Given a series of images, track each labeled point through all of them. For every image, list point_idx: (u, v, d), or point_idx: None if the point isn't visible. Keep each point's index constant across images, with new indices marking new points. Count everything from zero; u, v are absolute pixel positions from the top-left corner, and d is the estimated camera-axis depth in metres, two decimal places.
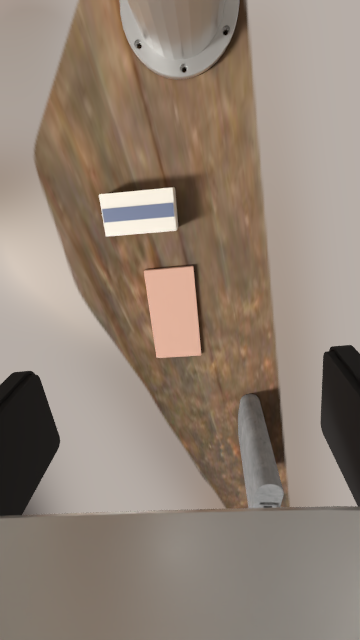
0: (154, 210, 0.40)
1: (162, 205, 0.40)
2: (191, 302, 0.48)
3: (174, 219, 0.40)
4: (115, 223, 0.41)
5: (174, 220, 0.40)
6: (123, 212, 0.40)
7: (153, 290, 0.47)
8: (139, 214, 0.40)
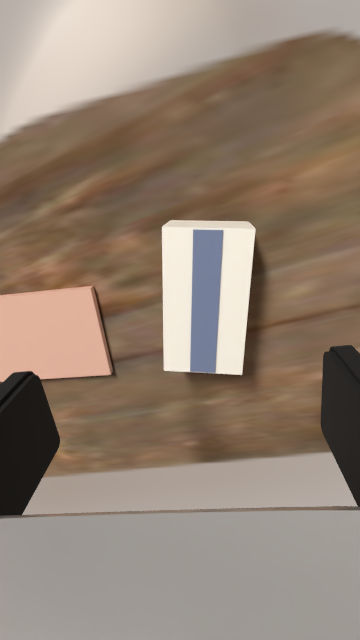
0: (205, 337, 0.20)
1: (212, 355, 0.20)
2: (45, 370, 0.26)
3: (184, 369, 0.21)
4: (189, 255, 0.18)
5: (182, 369, 0.21)
6: (210, 277, 0.19)
7: (54, 304, 0.24)
8: (201, 310, 0.19)
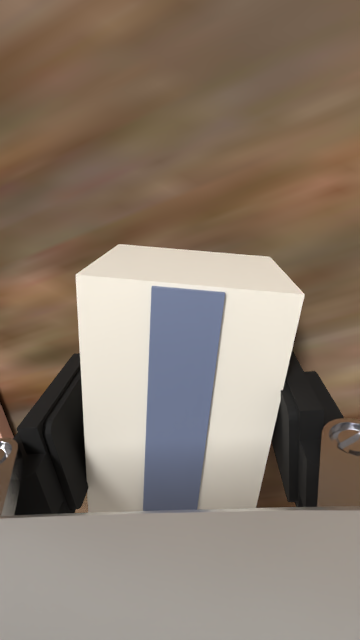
0: (174, 498, 0.10)
1: None
2: None
3: None
4: (142, 341, 0.08)
5: None
6: (189, 390, 0.08)
7: None
8: (167, 451, 0.09)
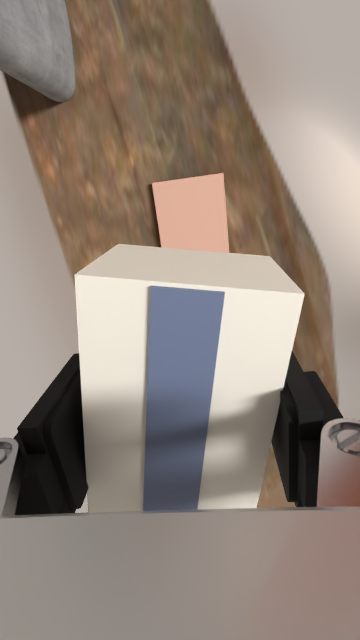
0: (174, 498, 0.10)
1: None
2: None
3: None
4: (141, 341, 0.08)
5: None
6: (188, 390, 0.08)
7: None
8: (167, 452, 0.09)
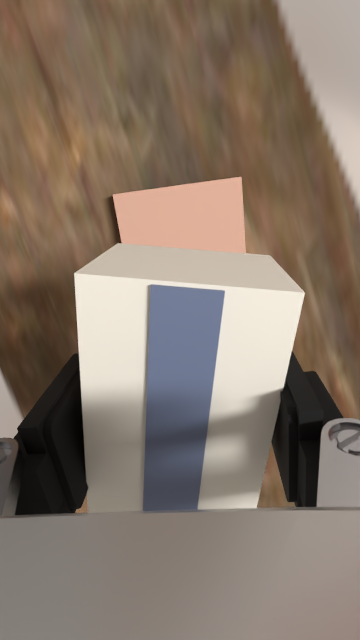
0: (173, 498, 0.10)
1: None
2: None
3: None
4: (141, 340, 0.08)
5: None
6: (188, 389, 0.08)
7: None
8: (167, 451, 0.09)
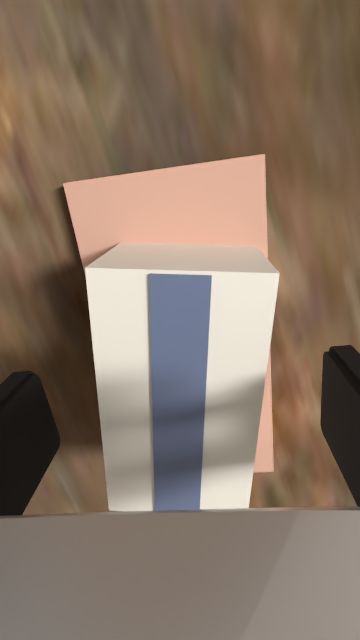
0: (180, 463, 0.11)
1: (194, 491, 0.11)
2: None
3: (145, 509, 0.12)
4: (144, 322, 0.09)
5: (142, 509, 0.12)
6: (187, 363, 0.09)
7: None
8: (172, 420, 0.10)
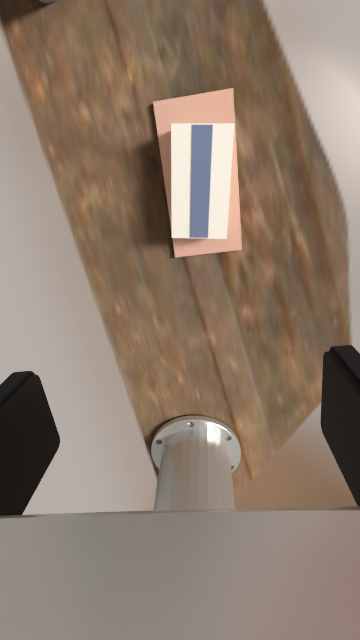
0: (200, 210, 0.29)
1: (205, 223, 0.29)
2: None
3: (186, 236, 0.30)
4: (189, 144, 0.27)
5: (185, 236, 0.30)
6: (204, 161, 0.27)
7: (230, 221, 0.33)
8: (198, 187, 0.28)
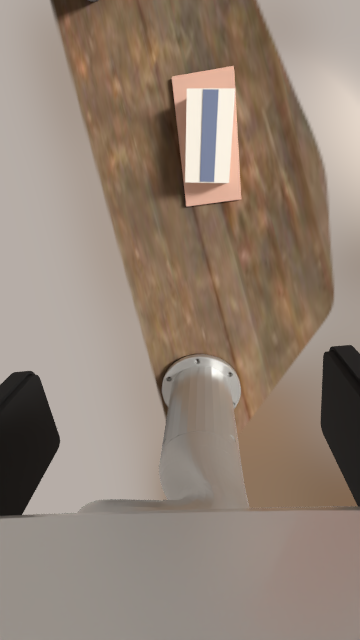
0: (208, 158, 0.36)
1: (212, 169, 0.37)
2: None
3: (196, 181, 0.37)
4: (200, 105, 0.35)
5: (195, 181, 0.37)
6: (211, 119, 0.35)
7: (232, 175, 0.41)
8: (207, 139, 0.36)
